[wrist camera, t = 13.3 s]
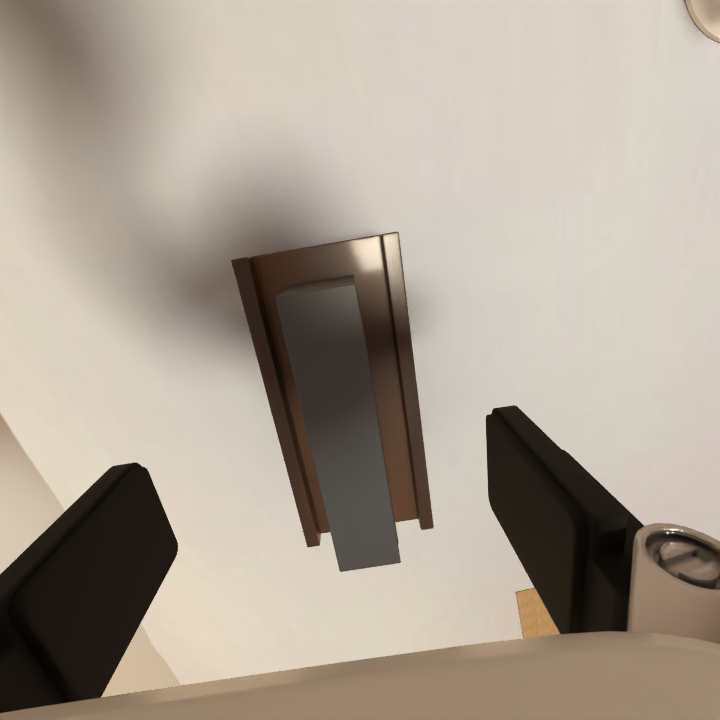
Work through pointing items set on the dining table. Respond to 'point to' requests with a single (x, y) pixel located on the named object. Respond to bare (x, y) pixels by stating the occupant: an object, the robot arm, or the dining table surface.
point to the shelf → (386, 358)
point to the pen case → (341, 417)
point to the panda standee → (706, 16)
